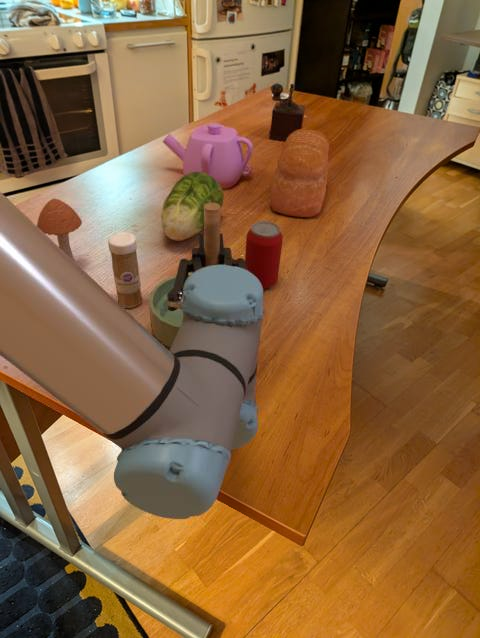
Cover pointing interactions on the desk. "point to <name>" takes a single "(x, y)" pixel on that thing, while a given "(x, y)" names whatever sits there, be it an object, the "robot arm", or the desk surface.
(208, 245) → the wooden pestle
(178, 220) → the lettuce
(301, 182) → the bread
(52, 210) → the mushroom
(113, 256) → the sprinkles bottle
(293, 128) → the coffee grinder
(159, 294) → the bowl
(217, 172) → the teapot
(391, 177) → the desk surface
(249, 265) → the beverage can
